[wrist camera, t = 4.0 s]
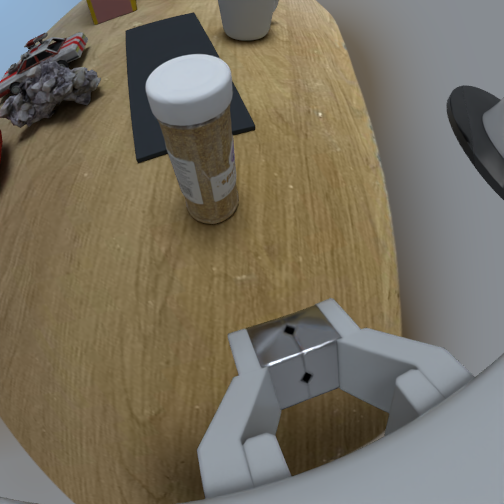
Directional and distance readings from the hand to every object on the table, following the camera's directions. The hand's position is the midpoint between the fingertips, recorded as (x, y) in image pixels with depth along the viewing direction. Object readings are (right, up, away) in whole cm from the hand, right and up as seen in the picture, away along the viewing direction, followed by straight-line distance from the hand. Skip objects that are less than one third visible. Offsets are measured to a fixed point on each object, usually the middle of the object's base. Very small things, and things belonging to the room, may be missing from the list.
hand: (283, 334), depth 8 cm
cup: (-1, +35, +29) cm, 46 cm away
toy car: (-36, +32, +28) cm, 56 cm away
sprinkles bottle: (-4, +6, +18) cm, 20 cm away
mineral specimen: (-26, +21, +23) cm, 41 cm away
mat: (-11, +27, +25) cm, 39 cm away
